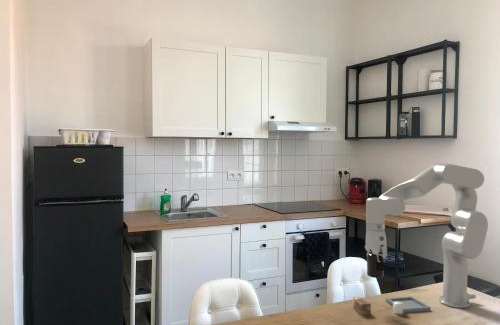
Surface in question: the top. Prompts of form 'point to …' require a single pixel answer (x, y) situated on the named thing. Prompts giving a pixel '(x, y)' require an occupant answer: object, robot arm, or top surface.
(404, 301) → the tray
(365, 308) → the walnut block
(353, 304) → the peach rounded dome
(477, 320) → the top surface
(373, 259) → the supplement bottle
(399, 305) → the white egg
